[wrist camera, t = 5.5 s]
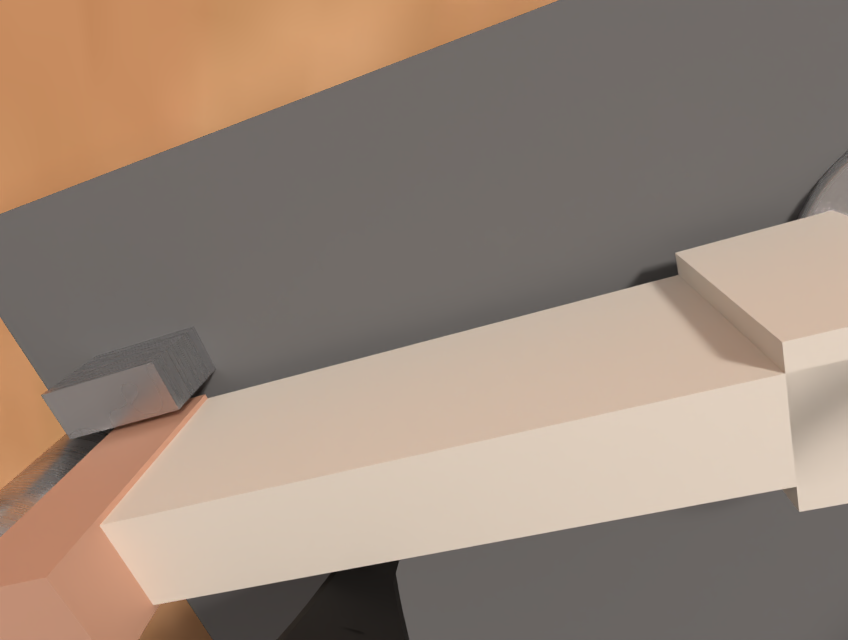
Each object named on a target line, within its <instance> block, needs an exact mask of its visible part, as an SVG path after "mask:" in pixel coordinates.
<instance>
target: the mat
mask: <svg viewBox="0 0 848 640" xmlns="http://www.w3.org/2000/svg"><path fill="white" fill-rule="evenodd" d="M847 151H848V0H559V1H556V2H553V3H551V4H548V5H546V6H543V7H540V8H538V9H535V10H532V11H530V12H527V13H525V14H522V15H519V16H517V17H514V18H512V19H509V20H506V21H504V22H501V23H498V24H496V25H493V26H491V27H488V28H485V29H483V30H480V31H478V32H475V33H472V34H470V35H467V36H464V37H462V38H459V39H457V40H454V41H451V42H449V43H446V44H444V45H441V46H438V47H436V48H433V49H430V50H428V51H425V52H423V53H420V54H417V55H415V56H412V57H410V58H407V59H404V60H402V61H399V62H397V63H394V64H391V65H389V66H386V67H383V68H381V69H378V70H376V71H373V72H370V73H368V74H365V75H363V76H360V77H357V78H355V79H352V80H349V81H347V82H344V83H342V84H339V85H336V86H334V87H331V88H329V89H326V90H323V91H321V92H318V93H315V94H313V95H310V96H308V97H305V98H302V99H300V100H297V101H295V102H292V103H289V104H287V105H284V106H281V107H279V108H276V109H274V110H271V111H268V112H266V113H263V114H261V115H258V116H255V117H253V118H250V119H247V120H245V121H242V122H240V123H237V124H234V125H232V126H229V127H227V128H224V129H221V130H219V131H216V132H214V133H211V134H208V135H206V136H203V137H200V138H198V139H195V140H193V141H190V142H187V143H185V144H182V145H180V146H177V147H174V148H172V149H169V150H166V151H164V152H161V153H159V154H156V155H153V156H151V157H148V158H146V159H143V160H140V161H138V162H135V163H132V164H130V165H127V166H125V167H122V168H119V169H117V170H114V171H112V172H109V173H106V174H104V175H101V176H98V177H96V178H93V179H91V180H88V181H85V182H83V183H80V184H78V185H75V186H72V187H70V188H67V189H65V190H62V191H59V192H57V193H54V194H51V195H49V196H46V197H44V198H41V199H38V200H36V201H33V202H31V203H28V204H25V205H23V206H20V207H17V208H15V209H12V210H10V211H7V212H4V213H2V214H0V317H1V319H2V320H3V322H4V323H5V325H6V326H7V328H8V330H9V331H10V333H11V334H12V336H13V337H14V339H15V340H16V342H17V343H18V345H19V346H20V348H21V349H22V351H23V352H24V354H25V355H26V357H27V358H28V360H29V361H30V363H31V364H32V366H33V367H34V369H35V371H36V372H37V374H38V375H39V377H40V378H41V380H42V381H43V383H44V384H45V386H46V387H47V389H48V390H49V389H50V388H52V387H53V386H55V385H56V384H57V383H59V382H60V381H62V380H63V379H64V378H66V377H67V376H69V375H70V374H71V373H73V372H74V371H76V370H77V369H78V368H80V367H81V366H83V365H84V364H85V363H87V362H88V361H90V360H91V359H92V358H94V357H95V356H98V355H101V354H104V353H108V352H111V351H114V350H118V349H121V348H124V347H127V346H131V345H134V344H137V343H140V342H144V341H147V340H150V339H153V338H157V337H160V336H163V335H166V334H170V333H173V332H176V331H180V330H183V329H186V328H189V327H193V326H194V327H195V329H196V331H197V332H198V334H199V336H200V338H201V340H202V342H203V344H204V346H205V348H206V350H207V351H208V353H209V355H210V357H211V359H212V361H213V363H214V365H215V367H216V369H215V371H214V372H213V373H212V374H211V375H210V376H209V377H208V378H207V379H206V380H205V382H204V383H203V384H202V385H201V386H200V387H199V388H198V389H197V390H196V391H195V393H194V394H193V395H192V396H191V397H190V398H193V397H197V396H200V395H204V394H206V396H207V398H211V397H215V396H219V395H222V394H226V393H230V392H234V391H238V390H242V389H245V388H249V387H253V386H257V385H261V384H264V383H268V382H272V381H276V380H280V379H283V378H287V377H291V376H295V375H299V374H302V373H306V372H310V371H314V370H318V369H322V368H325V367H329V366H333V365H337V364H341V363H344V362H348V361H352V360H356V359H360V358H363V357H367V356H371V355H375V354H379V353H382V352H386V351H390V350H394V349H398V348H402V347H405V346H409V345H413V344H417V343H421V342H424V341H428V340H432V339H436V338H440V337H443V336H447V335H451V334H455V333H459V332H463V331H466V330H470V329H474V328H478V327H482V326H485V325H489V324H493V323H497V322H501V321H504V320H508V319H512V318H516V317H520V316H523V315H527V314H531V313H535V312H539V311H543V310H546V309H550V308H554V307H558V306H562V305H565V304H569V303H573V302H577V301H581V300H584V299H588V298H592V297H596V296H600V295H604V294H607V293H611V292H615V291H619V290H623V289H626V288H630V287H634V286H638V285H642V284H645V283H649V282H653V281H657V280H661V279H664V278H668V277H672V276H676V275H679V274H678V268H677V262H676V256H675V253H676V252H680V251H683V250H687V249H691V248H694V247H698V246H702V245H706V244H709V243H713V242H717V241H720V240H724V239H728V238H732V237H735V236H739V235H743V234H746V233H750V232H754V231H757V230H761V229H765V228H769V227H772V226H776V225H780V224H783V223H787V222H791V221H794V220H795V219H796V217H797V214H798V212H799V210H800V209H801V207H802V205H803V203H804V201H805V199H806V198H807V196H808V195H809V193H810V192H811V190H812V189H813V187H814V186H815V185H816V183H817V182H818V180H819V179H820V178H821V177H822V176H823V175H824V174H825V172H826V171H827V170H828V169H829V168H830V167H831V166H832V165H833V164H834V163H835V162H836V161H837V160H838V159H839V158H840V157H841V156H842V155H843V154H844V153H845V152H847ZM329 575H330V573H325V574H320V575H314V576H309V577H303V578H298V579H293V580H287V581H282V582H276V583H271V584H265V585H260V586H255V587H249V588H244V589H238V590H233V591H227V592H222V593H217V594H211V595H206V596H200V597H195V598H189V599H186V600H187V601H188V603H189V604H190V606H191V607H192V609H193V610H194V612H195V614H196V615H197V617H198V618H199V620H200V621H201V623H202V624H203V626H204V627H205V629H206V630H207V632H208V633H209V635H210V636H211V638H212V639H213V640H277V638H278V637H279V636H280V635H281V634H282V633H283V632H284V631H285V630H286V628H287V627H288V626H289V625H290V624H291V623H292V621H293V620H294V619H295V618H296V617H297V615H298V614H299V613H300V612H301V611H302V609H303V608H304V607H305V606H306V605H307V603H308V602H309V601H310V599H311V598H312V597H313V595H314V594H315V593H316V592H317V590H318V589H319V588H320V586H321V585H322V584H323V583H324V581H325V580H326V579H327V577H328V576H329ZM396 577H397V583H398V589H399V595H400V600H401V605H402V610H403V614H404V619H405V623H406V627H407V632H408V636H409V640H848V503H847V504H842V505H836V506H830V507H825V508H819V509H813V510H808V511H802V512H799V511H798V510H797V508H796V507H795V506H794V504H793V503H792V502H791V501H790V499H789V498H788V497H787V495H786V494H785V493H784V491H783V490H782V489H781V490H775V491H770V492H765V493H759V494H754V495H748V496H743V497H737V498H732V499H727V500H721V501H716V502H710V503H705V504H699V505H694V506H689V507H683V508H678V509H672V510H667V511H662V512H656V513H651V514H645V515H640V516H634V517H629V518H624V519H618V520H613V521H607V522H602V523H596V524H591V525H586V526H580V527H575V528H569V529H564V530H558V531H553V532H548V533H542V534H537V535H531V536H526V537H520V538H515V539H510V540H504V541H499V542H493V543H488V544H482V545H477V546H472V547H466V548H461V549H455V550H450V551H444V552H439V553H434V554H428V555H423V556H417V557H412V558H406V559H401V560H399V564H398V567H397V571H396Z"/></svg>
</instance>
